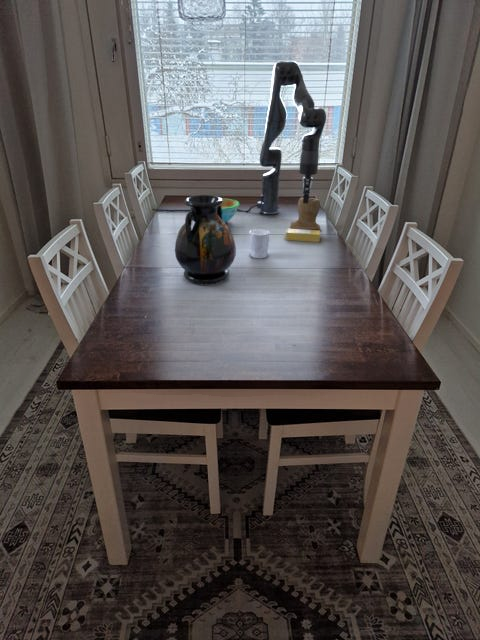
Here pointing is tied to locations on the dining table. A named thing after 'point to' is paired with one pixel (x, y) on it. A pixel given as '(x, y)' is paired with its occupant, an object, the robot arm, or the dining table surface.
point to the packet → (303, 235)
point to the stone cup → (307, 215)
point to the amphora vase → (205, 242)
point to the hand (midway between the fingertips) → (305, 200)
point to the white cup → (259, 243)
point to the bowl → (228, 209)
